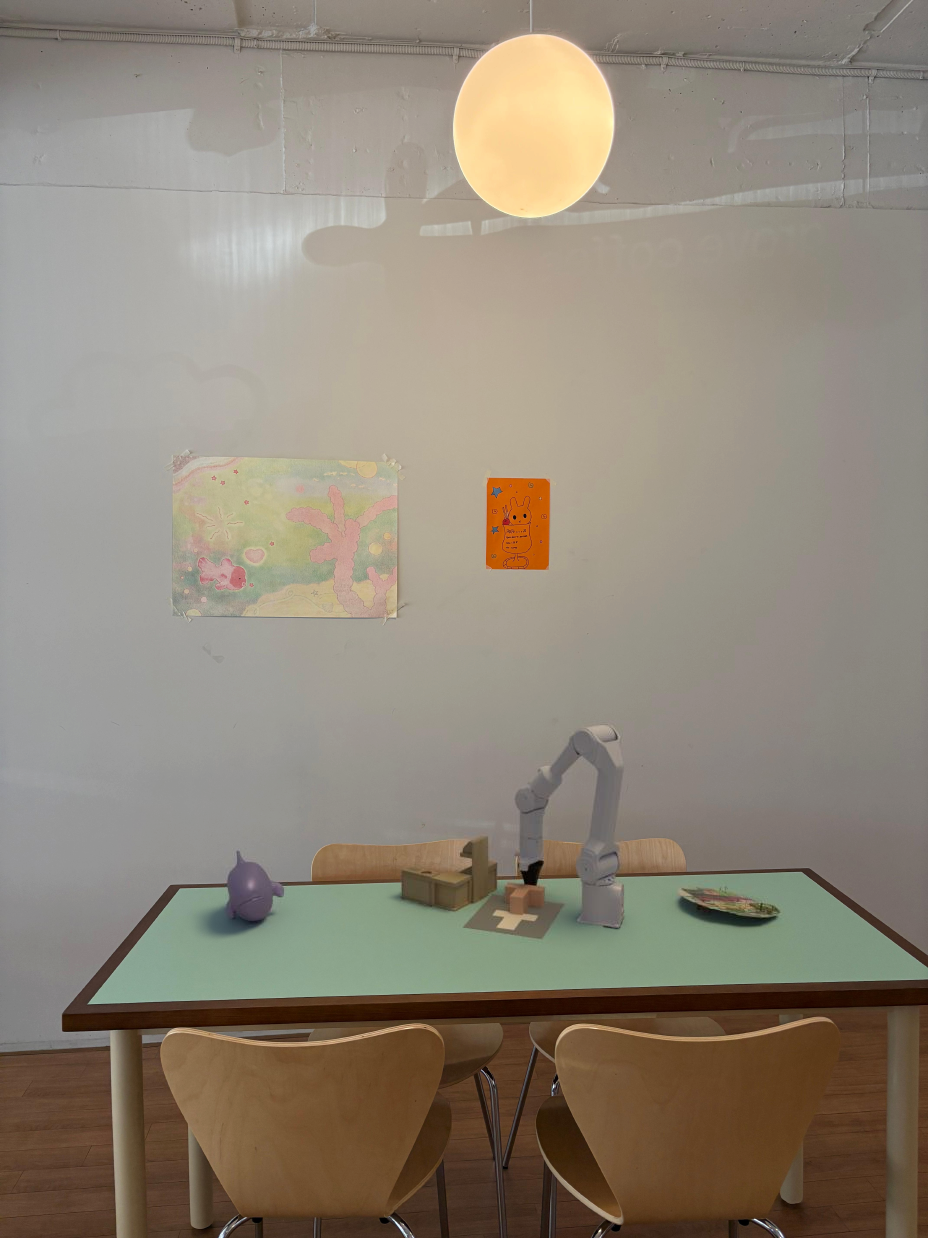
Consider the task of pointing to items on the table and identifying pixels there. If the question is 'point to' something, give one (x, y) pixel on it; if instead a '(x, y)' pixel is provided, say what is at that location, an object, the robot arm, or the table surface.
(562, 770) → the robot arm
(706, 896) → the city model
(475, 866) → the toy kitchen set
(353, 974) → the table surface
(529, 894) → the t block
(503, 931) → the mat
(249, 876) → the toy whale
